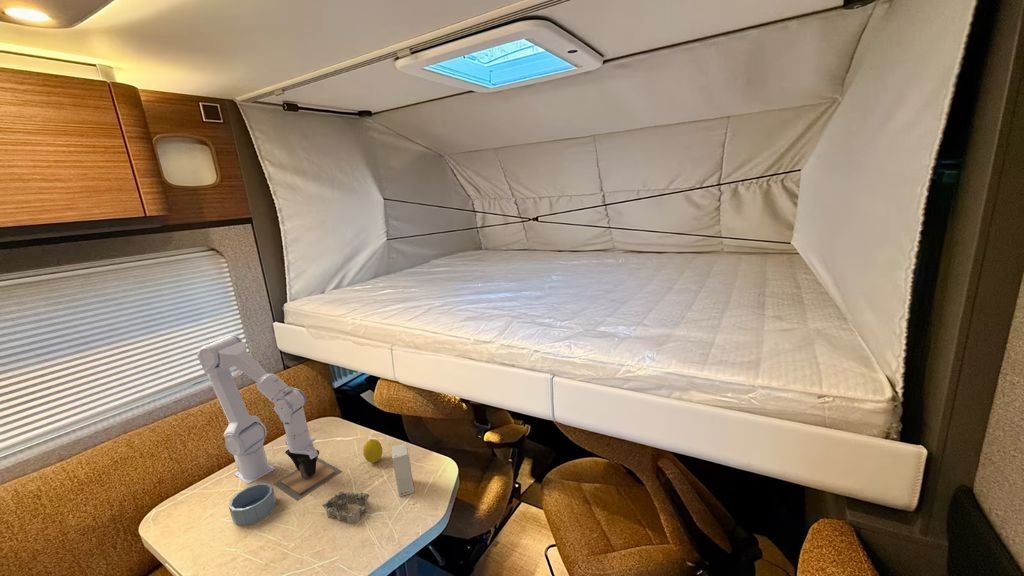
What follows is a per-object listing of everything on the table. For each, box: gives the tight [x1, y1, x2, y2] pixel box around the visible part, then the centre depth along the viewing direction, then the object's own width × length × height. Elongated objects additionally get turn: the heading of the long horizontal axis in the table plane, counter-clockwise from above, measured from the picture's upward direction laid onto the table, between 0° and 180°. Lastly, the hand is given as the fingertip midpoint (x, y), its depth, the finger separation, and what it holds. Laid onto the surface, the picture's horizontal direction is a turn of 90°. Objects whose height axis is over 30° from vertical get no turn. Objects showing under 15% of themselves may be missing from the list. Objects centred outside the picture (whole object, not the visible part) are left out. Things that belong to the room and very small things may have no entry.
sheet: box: [280, 461, 335, 495], centre depth 125 cm, size 11×11×5 cm
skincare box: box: [391, 443, 415, 497], centre depth 116 cm, size 6×4×12 cm
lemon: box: [363, 438, 384, 464], centre depth 129 cm, size 6×6×8 cm
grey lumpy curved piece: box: [322, 490, 370, 525], centre depth 110 cm, size 11×8×4 cm
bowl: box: [228, 482, 277, 526], centre depth 113 cm, size 10×10×5 cm
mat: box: [273, 457, 343, 502], centre depth 125 cm, size 14×14×1 cm
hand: (306, 471), depth 125 cm, fingers open, 5 cm apart
